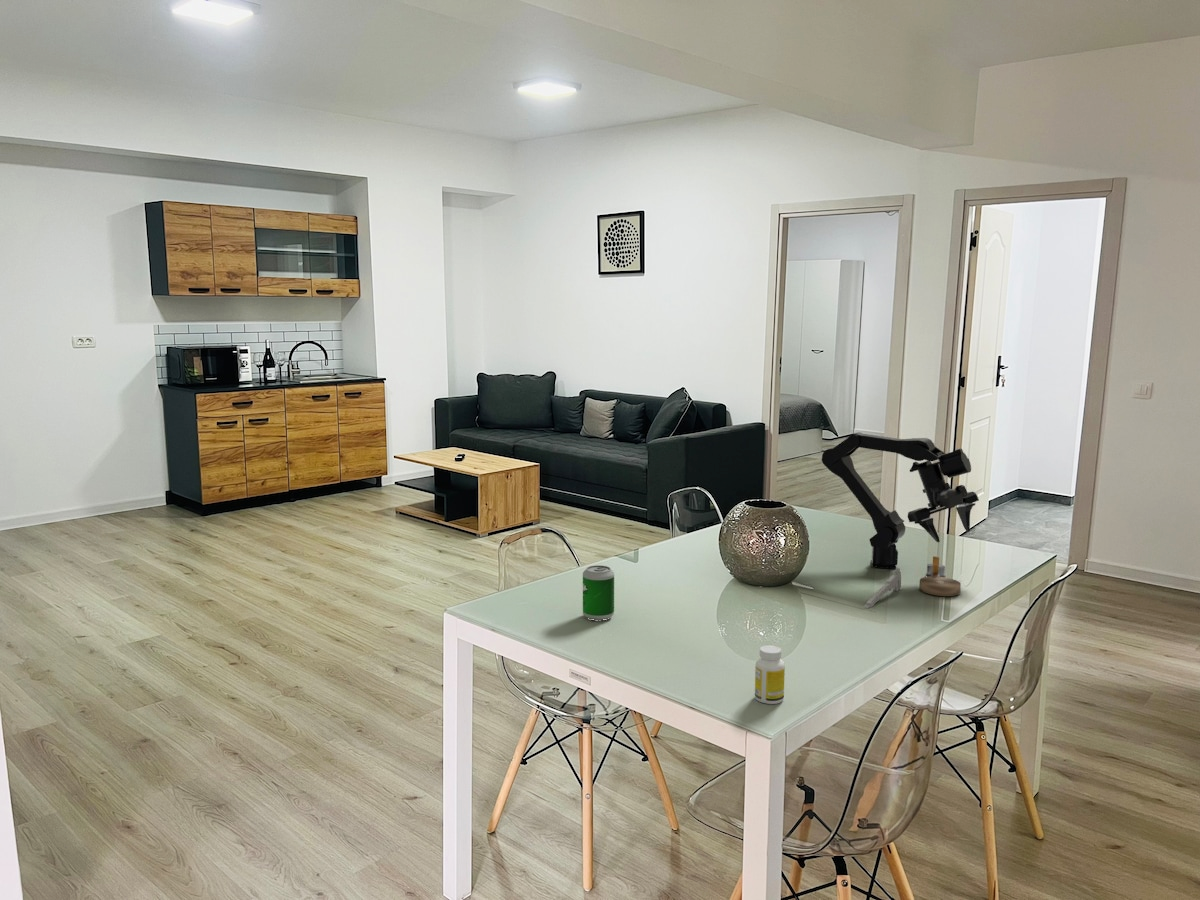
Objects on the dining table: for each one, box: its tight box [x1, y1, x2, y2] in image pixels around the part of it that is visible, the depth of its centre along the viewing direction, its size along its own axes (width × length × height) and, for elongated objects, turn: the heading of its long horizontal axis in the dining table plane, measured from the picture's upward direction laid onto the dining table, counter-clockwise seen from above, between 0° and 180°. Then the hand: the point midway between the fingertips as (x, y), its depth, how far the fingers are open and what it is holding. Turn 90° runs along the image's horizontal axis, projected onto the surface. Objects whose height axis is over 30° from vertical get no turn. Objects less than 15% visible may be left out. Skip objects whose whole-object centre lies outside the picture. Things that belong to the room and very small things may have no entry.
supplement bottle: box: [754, 645, 786, 705], centre depth 168 cm, size 5×5×10 cm
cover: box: [925, 563, 947, 578], centre depth 246 cm, size 5×5×3 cm
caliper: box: [863, 567, 902, 609], centre depth 227 cm, size 20×1×6 cm, turn 140°
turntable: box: [919, 555, 962, 597], centre depth 235 cm, size 14×10×7 cm
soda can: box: [582, 564, 615, 620], centre depth 213 cm, size 8×8×12 cm
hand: (953, 536), depth 244 cm, fingers open, 9 cm apart
